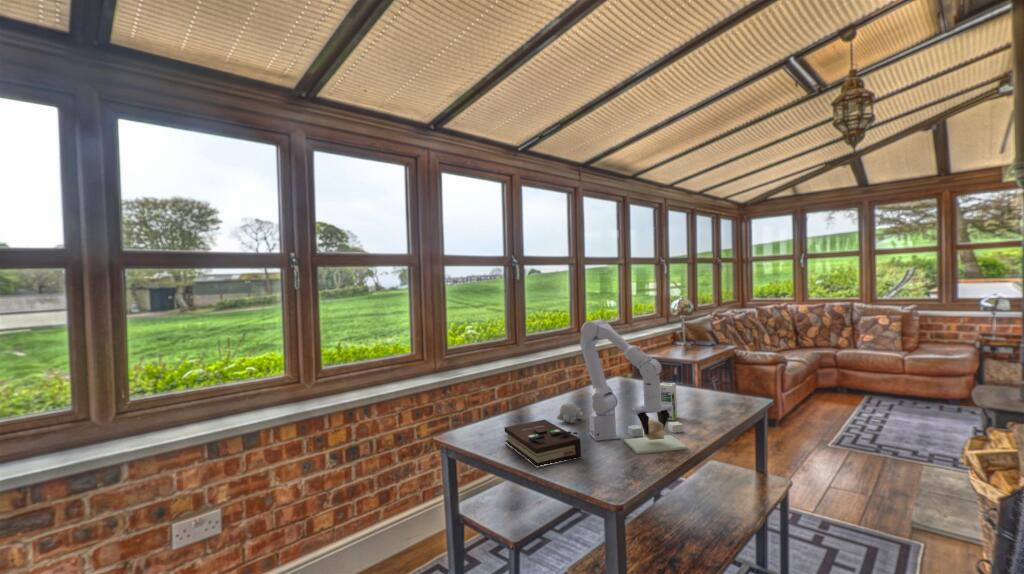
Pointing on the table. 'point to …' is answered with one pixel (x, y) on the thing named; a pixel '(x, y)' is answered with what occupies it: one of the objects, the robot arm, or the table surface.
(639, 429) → the grey-blue block
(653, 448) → the sage board
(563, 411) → the toy rhinoceros
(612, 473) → the table surface
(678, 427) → the light grey block
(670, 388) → the syrup box
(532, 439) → the decorative book
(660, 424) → the maple block
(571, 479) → the table surface
